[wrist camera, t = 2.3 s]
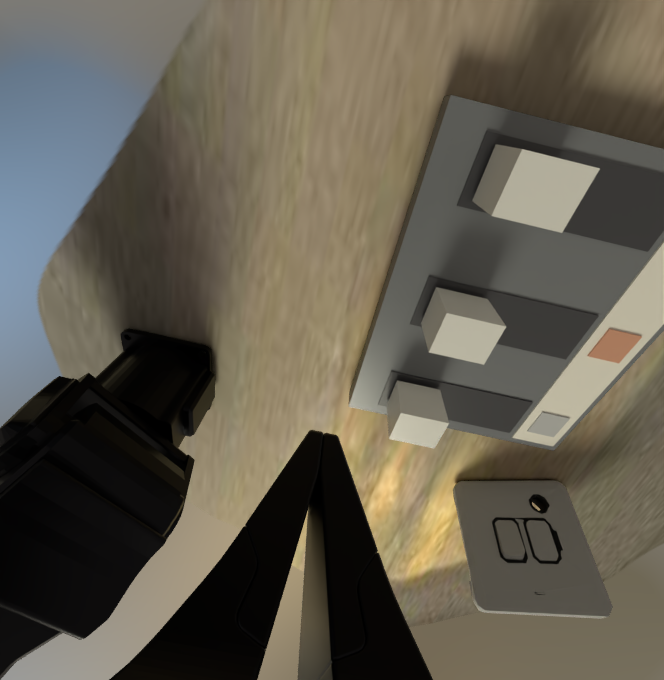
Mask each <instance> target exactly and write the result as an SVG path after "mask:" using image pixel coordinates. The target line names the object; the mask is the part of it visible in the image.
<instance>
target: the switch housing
mask: <svg viewBox="0 0 664 680" xmlns="http://www.w3.org/2000/svg"><path fill="white" fill-rule="evenodd" d="M496 144H497V145H503V146H508V147H514V148H519V149H524V150H528V151H532V152H536V153H540V154H544V155H548V156H552V157H556V158H560V159H564V160H568V161H572V162H576V163H580V164H584V165H588V166H592V167H596V168H600V170H599V171H598V173H597V175H596V176H595V178H594V180H593V181H592V183H591V185H590V186H589V188H588V190H587V192H586V193H585V195H584V197H583V198H582V200H581V202H580V203H579V205H578V207H577V208H576V210H575V212H574V213H573V215H572V217H571V219H570V220H569V222H568V224H567V225H566V227H565V229H564V230H563V232H562V233H560V232H556V231H552V230H548V229H543V228H539V227H535V226H531V225H527V224H523V223H519V222H514V221H510V220H506V219H502V218H498V217H494V216H491V215H490V214H488V213H487V212H486V211H484V210H483V209H482V208H480V207H479V206H478V205H477V204H475V203H474V202H473V201H472V200H473V198H474V195H475V193H476V190H477V188H478V186H479V183H480V181H481V178H482V176H483V174H484V171H485V169H486V167H487V164H488V162H489V159H490V157H491V155H492V152H493V150H494V147H495V145H496ZM436 287H438V288H442V289H446V290H451V291H455V292H459V293H464V294H468V295H472V296H477V297H481V298H485V299H488V300H489V302H490V303H491V305H492V306H493V308H494V309H495V310H496V312H497V313H498V315H499V316H500V318H501V319H502V321H503V322H504V324H505V325H506V328H505V330H504V332H503V333H502V335H501V337H500V338H499V340H498V342H497V343H496V345H495V347H494V348H493V350H492V352H491V354H490V355H489V357H488V359H487V360H486V362H485V364H484V365H483V364H479V363H474V362H470V361H465V360H461V359H456V358H452V357H447V356H443V355H438V354H434V353H429V352H428V348H427V344H426V340H425V336H424V333H423V329H422V325H421V322H422V320H423V317H424V315H425V312H426V310H427V308H428V305H429V303H430V300H431V298H432V296H433V293H434V291H435V289H436ZM663 331H664V149H662V148H658V147H654V146H650V145H646V144H642V143H638V142H634V141H630V140H626V139H622V138H618V137H615V136H611V135H607V134H603V133H599V132H595V131H591V130H587V129H583V128H579V127H575V126H571V125H567V124H563V123H560V122H556V121H552V120H548V119H544V118H540V117H536V116H532V115H528V114H524V113H520V112H516V111H512V110H508V109H505V108H501V107H497V106H493V105H489V104H485V103H481V102H477V101H473V100H469V99H465V98H461V97H457V96H453V95H449V96H446V97H444V99H443V102H442V105H441V109H440V112H439V115H438V118H437V121H436V124H435V127H434V130H433V134H432V137H431V140H430V143H429V146H428V149H427V152H426V155H425V159H424V162H423V165H422V168H421V171H420V174H419V177H418V180H417V184H416V187H415V190H414V193H413V196H412V199H411V202H410V205H409V209H408V212H407V215H406V218H405V221H404V224H403V227H402V230H401V234H400V237H399V240H398V243H397V246H396V249H395V252H394V255H393V259H392V262H391V265H390V268H389V271H388V274H387V277H386V280H385V284H384V287H383V290H382V293H381V296H380V299H379V302H378V305H377V309H376V312H375V315H374V318H373V321H372V324H371V327H370V330H369V334H368V337H367V340H366V343H365V346H364V349H363V352H362V355H361V359H360V362H359V365H358V368H357V371H356V374H355V377H354V380H353V384H352V387H351V390H350V393H349V407H352V408H357V409H362V410H366V411H371V412H376V413H380V414H385V415H387V403H388V401H389V399H390V396H391V394H392V391H393V389H394V387H395V384H396V382H397V380H398V381H402V382H407V383H411V384H416V385H420V386H425V387H430V388H434V389H439V390H440V391H441V395H442V399H443V403H444V406H445V410H446V414H447V417H448V421H449V424H448V426H447V428H450V429H455V430H459V431H464V432H469V433H473V434H478V435H483V436H487V437H492V438H497V439H501V440H506V441H511V442H515V443H520V444H525V445H529V446H534V447H539V448H543V449H548V450H553V451H554V450H555V449H556V448H557V447H558V445H559V444H560V443H561V442H562V441H563V440H564V439H565V438H566V437H567V436H568V435H569V433H570V432H571V431H572V430H573V429H574V428H575V427H576V426H577V425H578V424H579V422H580V421H581V420H582V419H583V418H584V417H585V416H586V415H587V414H588V413H589V412H590V410H591V409H592V408H593V407H594V406H595V405H596V404H597V403H598V402H599V401H600V400H601V398H602V397H603V396H604V395H605V394H606V393H607V392H608V391H609V390H610V389H611V388H612V386H613V385H614V384H615V383H616V382H617V381H618V380H619V379H620V378H621V377H622V376H623V374H624V373H625V372H626V371H627V370H628V369H629V368H630V367H631V366H632V365H633V363H634V362H635V361H636V360H637V359H638V358H639V357H640V356H641V355H642V354H643V353H644V351H645V350H646V349H647V348H648V347H649V346H650V345H651V344H652V343H653V342H654V341H655V339H656V338H657V337H658V336H659V335H660V334H661V333H662V332H663Z"/></svg>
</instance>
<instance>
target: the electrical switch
mask: <svg viewBox="0 0 664 680" xmlns="http://www.w3.org/2000/svg"><path fill="white" fill-rule="evenodd" d="M453 495H454V500H455V505H456V509H457V514H458V519H459V524H460V529H461V533H462V538H463V543H464V548H465V553H466V557H467V562H468V567H469V572H470V578H471V581H470V589H471V594H472V598H473V601H474V603H475V605H476V607H477V608H478V610H479V611H482V612H486V613H503V614H523V615H543V616H544V615H545V616H562V617H583V618H605V617H608V616H609V615H610V613H611V610H612V607H613V606H612V604H611V601H610V599H609V596H608V594H607V591H606V589H605V586H604V584H603V581H602V578H601V576H600V573H599V571H598V568H597V566H596V563H595V560H594V558H593V555H592V553H591V550H590V548H589V545H588V543H587V540H586V537H585V535H584V532H583V530H582V527H581V525H580V522H579V520H578V517H577V515H576V512H575V509H574V507H573V504H572V502H571V499H570V497H569V494H568V492H567V489H566V487H565V486H564V485H563V484H561V483H560V482H558V481H555V480H547V481H460V482H458V483H457V484H456V485H455V486H454V489H453ZM532 502H533V503H534V504H536V505H537V506H538V507H539V508H540V511H538V510H537V509H536V508H534V507H533V506H532Z"/></svg>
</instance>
